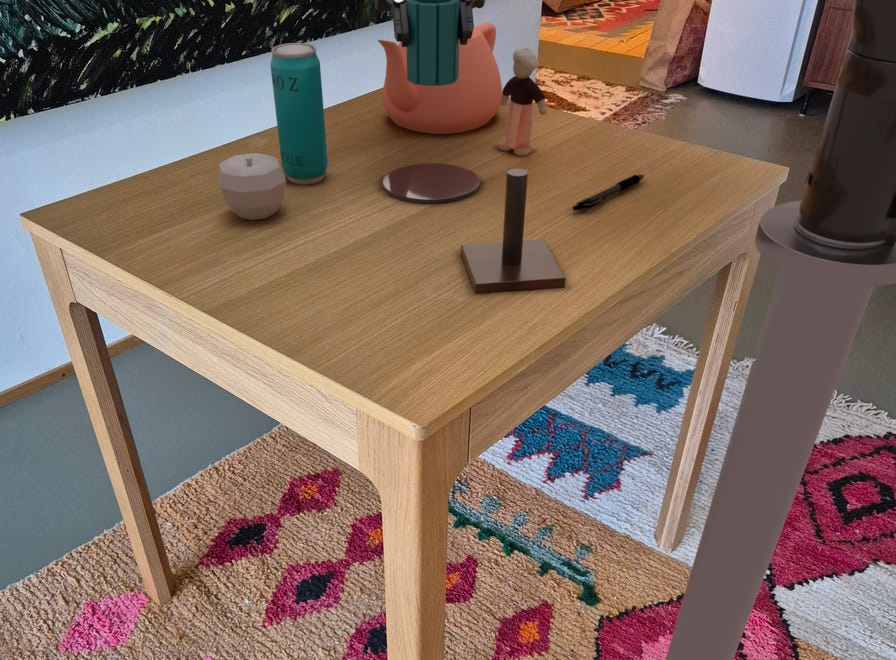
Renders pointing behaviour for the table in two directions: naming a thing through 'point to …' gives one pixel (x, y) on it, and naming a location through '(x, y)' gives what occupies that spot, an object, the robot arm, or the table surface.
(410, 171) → the slate coaster
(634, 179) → the pen
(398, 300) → the table surface
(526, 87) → the grandmother figurine
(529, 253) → the holder
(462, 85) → the teapot
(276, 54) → the beverage can
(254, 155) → the apple
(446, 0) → the teal octagonal tube
